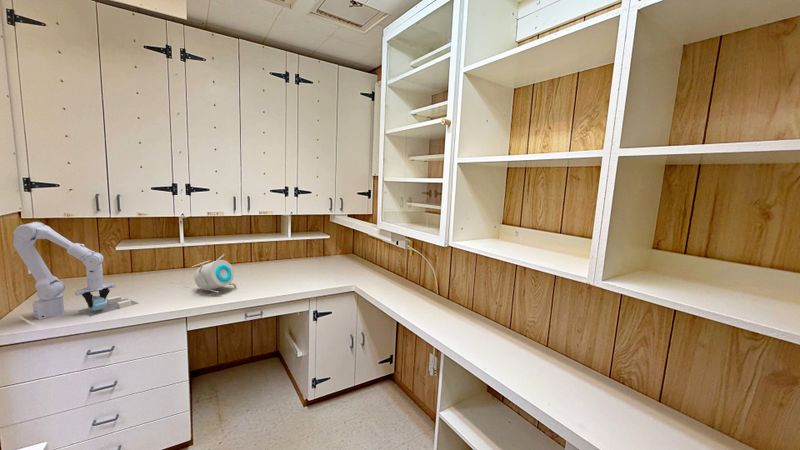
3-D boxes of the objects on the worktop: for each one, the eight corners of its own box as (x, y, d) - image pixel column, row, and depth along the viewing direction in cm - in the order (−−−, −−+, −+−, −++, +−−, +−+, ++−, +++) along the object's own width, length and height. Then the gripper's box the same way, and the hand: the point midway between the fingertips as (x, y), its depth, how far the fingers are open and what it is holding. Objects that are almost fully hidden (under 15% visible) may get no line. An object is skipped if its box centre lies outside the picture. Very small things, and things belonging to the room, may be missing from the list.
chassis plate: (90, 318, 152) (89, 311, 152) (77, 312, 157) (76, 305, 157) (139, 305, 170) (139, 298, 170) (126, 300, 175) (126, 293, 175)
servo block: (96, 311, 155) (96, 300, 154) (86, 306, 159) (85, 295, 158) (107, 308, 158) (106, 297, 158) (96, 304, 163) (95, 293, 162)
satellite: (210, 256, 210) (174, 268, 186) (233, 248, 203) (198, 259, 180) (223, 289, 212) (189, 305, 188) (246, 281, 205) (214, 297, 182)
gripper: (79, 283, 149) (81, 312, 150) (117, 276, 162) (118, 302, 163) (71, 280, 152) (73, 308, 153) (110, 273, 165) (111, 299, 166)
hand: (96, 305), depth 159 cm, fingers closed on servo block, 4 cm apart
